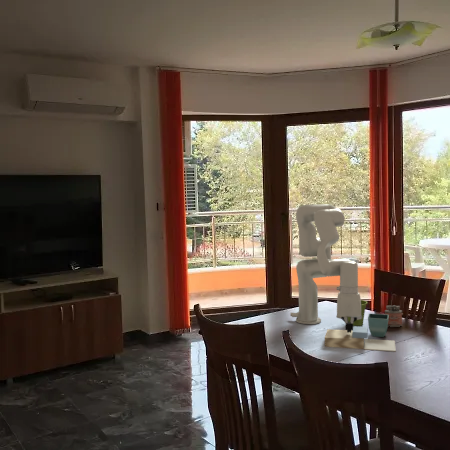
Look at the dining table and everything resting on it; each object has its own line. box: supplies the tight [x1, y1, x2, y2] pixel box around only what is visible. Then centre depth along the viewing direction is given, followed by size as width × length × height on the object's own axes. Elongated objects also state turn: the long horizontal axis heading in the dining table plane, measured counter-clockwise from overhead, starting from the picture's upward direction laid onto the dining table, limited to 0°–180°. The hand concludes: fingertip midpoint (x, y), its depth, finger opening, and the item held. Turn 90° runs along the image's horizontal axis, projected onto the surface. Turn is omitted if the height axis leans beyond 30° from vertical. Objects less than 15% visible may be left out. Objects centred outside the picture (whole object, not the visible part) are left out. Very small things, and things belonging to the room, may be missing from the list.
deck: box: [324, 328, 365, 350], centre depth 221 cm, size 16×13×4 cm
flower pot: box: [367, 313, 389, 338], centre depth 232 cm, size 9×9×9 cm
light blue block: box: [352, 325, 369, 340], centre depth 219 cm, size 6×9×2 cm, turn 163°
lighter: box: [384, 304, 403, 328], centre depth 247 cm, size 8×3×10 cm, turn 84°
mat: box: [363, 338, 397, 352], centre depth 217 cm, size 12×14×1 cm
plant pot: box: [348, 299, 368, 327], centre depth 251 cm, size 12×12×11 cm
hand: (349, 331), depth 221 cm, fingers closed
